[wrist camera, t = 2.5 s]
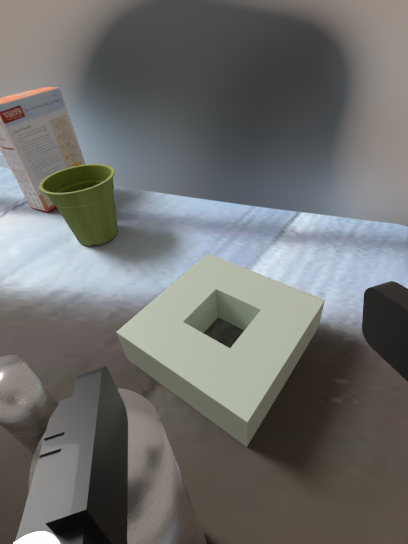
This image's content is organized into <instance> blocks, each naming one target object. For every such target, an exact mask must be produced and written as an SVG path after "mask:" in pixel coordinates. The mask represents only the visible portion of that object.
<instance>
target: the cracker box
mask: <svg viewBox="0 0 408 544" xmlns="http://www.w3.org/2000/svg"><path fill="white" fill-rule="evenodd" d="M0 148H1V150H2V152H3V154H4V156H5V158H6V160H7V162H8V164H9V166H10V168H11V170H12V172H13V174H14V175H15V177H16V179H17V181H18V183H19V185H20V187H21V189H22V191H23V193H24V195H25V197H26V199H27V201H28V203H29V205H30V207H31V208H33V209H37V210H41V211H45V212H49V211H50V210H52V209H54V208H55V207H56V205H54V204H53V203H52V201H51V200H50V198H49V197H48V196H47V194H45V193H43V192H42V191H41V190H40V188H39V185H40V183H41V181H43V180H44V179H45V178H46V177H48V176H49V175H51V174H53V173H55V172H57V171H60V170H63V169H67V168H70V167H74V166H80V165H86V164H85V161H84V158H83V155H82V152H81V149H80V146H79V144H78V141H77V138H76V135H75V132H74V129H73V126H72V123H71V120H70V118H69V115H68V112H67V109H66V106H65V103H64V101H63V97H62V94H61V91H60V89H59V88H56V87H55V88H54V87H52V88H51V87H41V88H38V89H35V90H31V91H27V92H22V93H18V94H14V95H10V96H7V97H3V98H0Z"/></svg>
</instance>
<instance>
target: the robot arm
mask: <svg viewBox="0 0 408 544" xmlns="http://www.w3.org/2000/svg"><path fill="white" fill-rule="evenodd" d="M362 331H363V335H364V337H365V339H366V341H367V343H368V344H369V345H370V347H371V348H372V349H373V350H375V351H376V352H377V353H378V354H379V355H380V356H381V357H382V358H383V359H384V360H385V361H386V362H387V363H388V364H390V365H391V366H392V367H393V368H394V369H395V370H396V371H397V372H398V373H399V374H400V375H401V376H402V377H403V378H405V379H406V380H407V381H408V289H407V288H405V287H403V286H402V285H400V284H398V283H396V282H392V281H391V282H387V283H384V284H381V285H377V286H374V287H371V288H368V289H367V290H366V291H365V293H364V305H363V322H362ZM39 456H40V460H38V462H37V466H36V469H35V473H34V477H33V480H32V484H31V487H30V491H29V495H28V498H27V502H26V506H25V509H24V513H23V517H22V520H21V524H20V528H19V531H18V534H17V537H16V540H15V542H14V544H127V511H128V417H127V412H126V408H125V405H124V402H123V400H122V398H121V395H120V393H119V391H118V389H117V387H116V385H115V383H114V381H113V379H112V376H111V374H110V372H109V370H108V369H107V368H106V367H102V368H99V369H96V370H92V371H89V372H86V373H83V374H79V375H78V376H77V378H76V381H75V386H74V390H73V395H72V397H69V398H66V399H63V400H61V402H60V403H59V405H58V406H57V408H56V409H55V411H54V412H53V414H52V415H51V417H50V418H49V422H48V425H47V429H46V433H45V436H44V442H43V444H42V447H41V451H40V455H39Z"/></svg>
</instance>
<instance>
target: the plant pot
mask: <svg viewBox="0 0 408 544" xmlns="http://www.w3.org/2000/svg"><path fill="white" fill-rule="evenodd" d="M114 174H115V171H114V169H113V168H112V167H110V166H108V165H102V164H87V165H80V166H74V167H70V168H67V169H63V170H60V171H57V172H55V173H53V174H51V175H49V176H48V177H46V178H45V179H44V180H43V181H41V183H40V185H39V188H40V190H41V191H42V192H43V193H45V194H47V196H48V197H49V198H50V200H51V201H52V203H53V204H54V205H56V207H57V209H58V210H59V212H60V213H61V215H62V216H63V218H64V219H65V221H66V222H67V224H68V226H69V227H70V229H71V230H72V232H73V233H74V235H75V236H76V238H77V240H78V241H79V242H80V243H81V244H83V245H86V246H91V245H95V244H97V245H101V244H104V243H106V242H108V241H110V240H112V239H113V238H114V237H115V236H116V234H117V230H118V228H117V220H116V212H115V204H114V196H113V188H114V186H113V176H114Z"/></svg>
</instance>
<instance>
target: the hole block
mask: <svg viewBox="0 0 408 544" xmlns="http://www.w3.org/2000/svg"><path fill="white" fill-rule="evenodd" d="M324 301H325V300H324V299H321V298H319V297H316V296H313V295H311V294H308V293H306V292H303V291H301V290H298V289H296V288H293V287H291V286H288V285H286V284H283V283H281V282H278V281H276V280H273V279H271V278H268V277H265V276H263V275H260V274H258V273H255V272H253V271H250V270H248V269H245V268H243V267H240V266H238V265H235V264H233V263H230V262H228V261H225V260H223V259H220V258H217V257H215V256H212V255H210V254H206V255H205V256H204V257H203V258H202V259H201V260H199V261H198V262H197V263H196V264H195V265H194V266H192V267H191V268H190V269H189V270H188V271H187V272H185V273H184V274H183V275H182V276H181V277H180V278H179V279H177V280H176V281H175V282H174V283H173V284H172V285H170V286H169V287H168V288H167V289H166V290H165V291H163V292H162V293H161V294H160V295H159V296H158V297H156V298H155V299H154V300H153V301H152V302H151V303H149V304H148V305H147V306H146V307H145V308H144V309H142V310H141V311H140V312H139V313H138V314H137V315H136V316H134V317H133V318H132V319H131V320H130V321H129V322H127V323H126V324H125V325H124V326H123V327H122V328H120V329H119V330H118V331H117V332H116V333H117V335H118V338H119V340H120V342H121V345H122V347H123V350H124V352H125V354H126V357H127V359H128V360H129V361H130V362H132V363H133V364H134V365H136V366H137V367H138V368H140V369H141V370H143V371H144V372H145V373H147V374H148V375H149V376H151V377H152V378H153V379H155V380H156V381H157V382H159V383H160V384H162V385H163V386H164V387H166V388H167V389H168V390H170V391H171V392H172V393H174V394H175V395H177V396H178V397H179V398H181V399H182V400H183V401H185V402H186V403H187V404H189V405H190V406H191V407H193V408H194V409H196V410H197V411H198V412H200V413H201V414H202V415H204V416H205V417H206V418H208V419H209V420H210V421H212V422H213V423H215V424H216V425H217V426H219V427H220V428H221V429H223V430H224V431H225V432H227V433H228V434H230V435H231V436H232V437H234V438H235V439H236V440H238V441H239V442H240V443H242V444H243V445H244V446H246V447H247V446H248V444H249V443H250V441H251V439H252V438H253V436H254V434H255V433H256V431H257V429H258V428H259V426H260V424H261V423H262V421H263V419H264V418H265V416H266V414H267V413H268V411H269V409H270V408H271V406H272V404H273V403H274V401H275V399H276V398H277V396H278V394H279V393H280V391H281V389H282V388H283V386H284V384H285V383H286V381H287V379H288V378H289V376H290V374H291V373H292V371H293V369H294V368H295V366H296V364H297V363H298V361H299V359H300V358H301V356H302V354H303V353H304V351H305V349H306V348H307V346H308V344H309V343H310V341H311V339H312V338H313V336H314V334H315V333H316V331H317V329H318V325H319V321H320V317H321V313H322V309H323V305H324ZM217 318H220V319H222V320H224V321H226V322H228V323H230V324H232V325H234V326H236V327H238V328H240V329H242V330H244V332H243V333H242V334H241V335H240V337H239V338H238V339H237V340H236V342H235V343H234V344H233V345H232V347H231V348H228V347H226V346H225V345H223V344H221V343H219V342H218V341H216V340H214V339H212V338H211V337H209V336H207V335H205V334H203V333H204V332H205V331H206V330H207V329H208V328H209V327H210V326H211V324H212V323H213V322H214V321H215V320H216V319H217Z"/></svg>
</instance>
